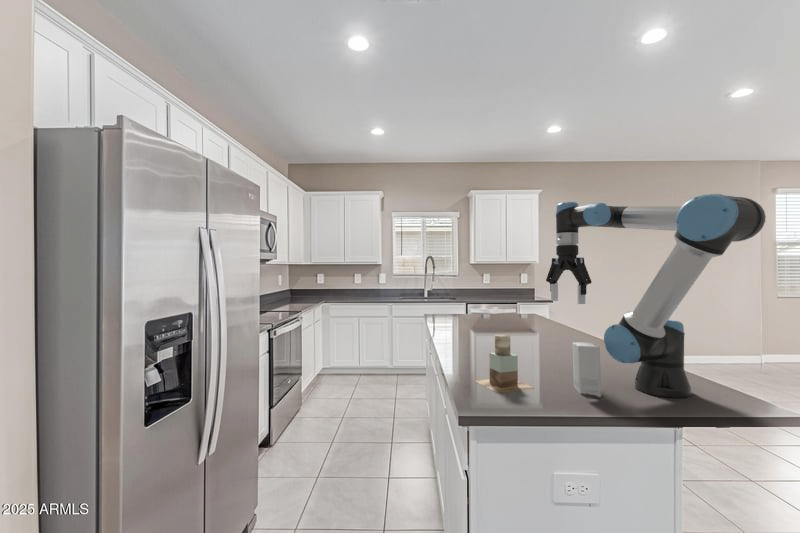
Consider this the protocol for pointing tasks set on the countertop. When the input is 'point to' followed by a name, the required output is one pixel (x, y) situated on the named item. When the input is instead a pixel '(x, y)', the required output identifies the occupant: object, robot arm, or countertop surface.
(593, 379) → the skincare box
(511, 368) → the sage mid block
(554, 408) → the countertop surface
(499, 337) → the oak cylinder
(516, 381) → the walnut base block
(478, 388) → the countertop surface
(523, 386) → the light wood square board
